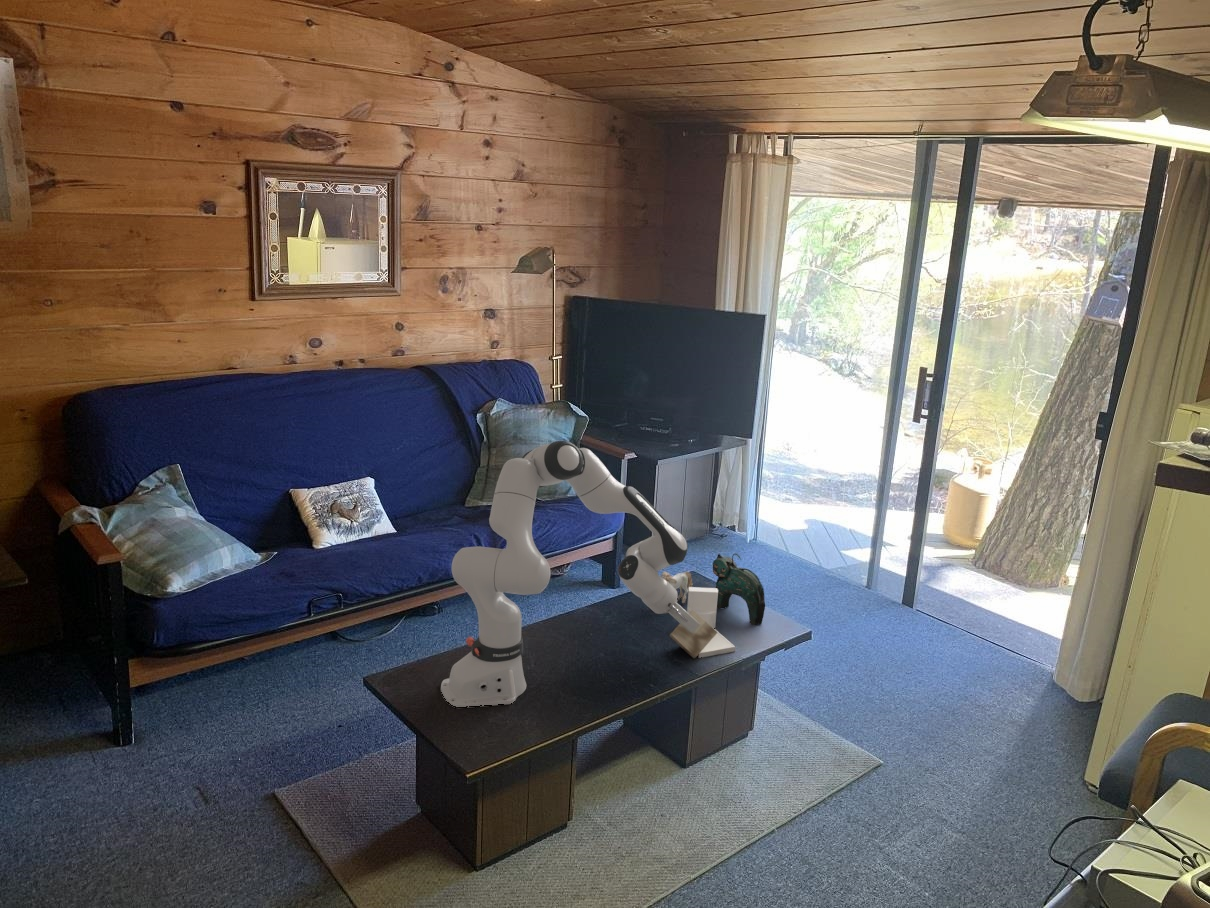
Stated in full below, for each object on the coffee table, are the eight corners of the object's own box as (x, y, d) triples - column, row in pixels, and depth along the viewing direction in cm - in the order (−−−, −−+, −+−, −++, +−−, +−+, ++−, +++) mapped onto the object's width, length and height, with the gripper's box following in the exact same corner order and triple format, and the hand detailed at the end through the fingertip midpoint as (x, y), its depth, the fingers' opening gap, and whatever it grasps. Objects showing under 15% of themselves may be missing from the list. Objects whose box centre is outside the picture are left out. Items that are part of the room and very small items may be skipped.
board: (698, 658, 275) (699, 653, 274) (679, 639, 285) (679, 634, 285) (734, 651, 280) (735, 646, 279) (714, 633, 290) (714, 628, 290)
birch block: (682, 647, 271) (705, 621, 272) (669, 635, 278) (692, 609, 279) (694, 658, 274) (717, 632, 275) (681, 646, 281) (703, 620, 282)
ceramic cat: (707, 605, 309) (712, 547, 303) (721, 600, 313) (726, 543, 307) (754, 628, 294) (759, 568, 289) (768, 622, 298) (773, 563, 293)
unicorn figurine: (647, 614, 301) (649, 575, 297) (674, 592, 317) (676, 555, 313) (667, 620, 297) (670, 580, 294) (694, 598, 314) (697, 560, 310)
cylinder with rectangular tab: (714, 619, 299) (716, 584, 296) (716, 632, 290) (719, 596, 287) (685, 618, 299) (687, 582, 296) (686, 631, 291) (689, 595, 287)
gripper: (686, 604, 260) (715, 631, 267) (653, 575, 278) (680, 601, 285) (671, 622, 260) (700, 648, 266) (638, 591, 277) (666, 617, 284)
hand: (689, 623), depth 276 cm, fingers closed
